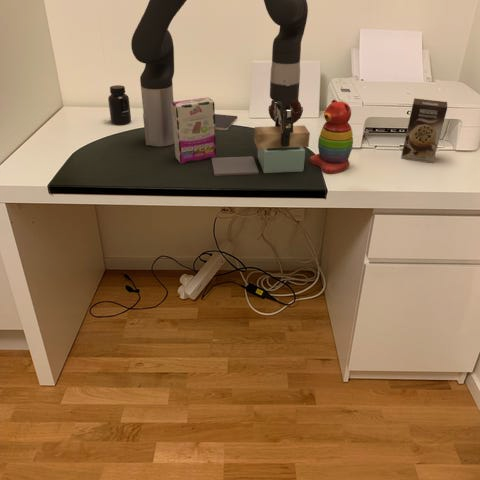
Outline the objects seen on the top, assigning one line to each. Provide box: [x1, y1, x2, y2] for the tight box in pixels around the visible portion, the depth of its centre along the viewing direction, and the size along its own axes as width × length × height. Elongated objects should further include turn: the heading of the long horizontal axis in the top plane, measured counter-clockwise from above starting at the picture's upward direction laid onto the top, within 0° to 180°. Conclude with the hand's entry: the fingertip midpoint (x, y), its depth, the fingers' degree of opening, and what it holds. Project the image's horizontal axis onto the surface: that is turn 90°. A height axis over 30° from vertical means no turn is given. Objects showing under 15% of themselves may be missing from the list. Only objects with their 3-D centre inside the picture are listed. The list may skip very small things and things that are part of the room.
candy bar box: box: [171, 97, 217, 164], centre depth 131 cm, size 11×5×16 cm, turn 115°
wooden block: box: [253, 124, 311, 150], centre depth 128 cm, size 14×6×4 cm, turn 97°
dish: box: [257, 147, 306, 174], centre depth 131 cm, size 11×11×6 cm
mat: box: [210, 155, 260, 177], centre depth 131 cm, size 12×11×1 cm
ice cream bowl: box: [268, 98, 304, 126], centre depth 147 cm, size 11×11×15 cm
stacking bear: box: [308, 99, 354, 175], centre depth 128 cm, size 11×10×18 cm
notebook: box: [215, 113, 238, 131], centre depth 163 cm, size 13×2×21 cm
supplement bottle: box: [107, 84, 132, 126], centre depth 158 cm, size 7×7×12 cm
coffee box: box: [400, 97, 448, 163], centre depth 134 cm, size 9×6×16 cm
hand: (281, 140), depth 129 cm, fingers open, 8 cm apart
